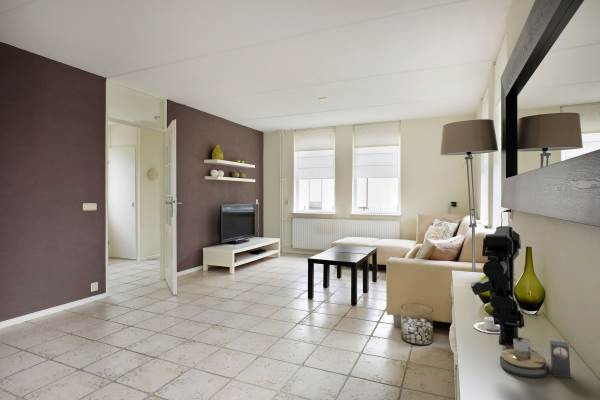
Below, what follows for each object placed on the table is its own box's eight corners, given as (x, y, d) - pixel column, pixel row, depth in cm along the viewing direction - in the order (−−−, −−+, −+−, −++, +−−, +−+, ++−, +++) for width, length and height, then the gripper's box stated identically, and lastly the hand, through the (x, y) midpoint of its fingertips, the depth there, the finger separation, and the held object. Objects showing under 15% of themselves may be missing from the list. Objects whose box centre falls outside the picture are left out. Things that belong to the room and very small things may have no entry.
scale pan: (501, 349, 112) (501, 346, 112) (543, 355, 107) (543, 352, 107) (502, 364, 102) (502, 361, 102) (548, 371, 97) (548, 368, 97)
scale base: (499, 356, 113) (498, 328, 113) (565, 365, 104) (563, 336, 105) (500, 373, 102) (498, 342, 102) (573, 385, 94) (571, 352, 94)
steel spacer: (513, 352, 108) (512, 336, 108) (530, 354, 105) (529, 338, 105) (514, 358, 104) (513, 341, 104) (532, 361, 102) (531, 343, 102)
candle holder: (478, 334, 132) (477, 323, 132) (470, 323, 144) (469, 313, 144) (512, 335, 129) (512, 324, 130) (502, 324, 141) (501, 313, 141)
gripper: (471, 266, 124) (474, 309, 124) (470, 278, 108) (473, 327, 108) (507, 267, 119) (510, 312, 119) (512, 279, 103) (515, 332, 103)
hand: (501, 320), depth 112 cm, fingers open, 9 cm apart
